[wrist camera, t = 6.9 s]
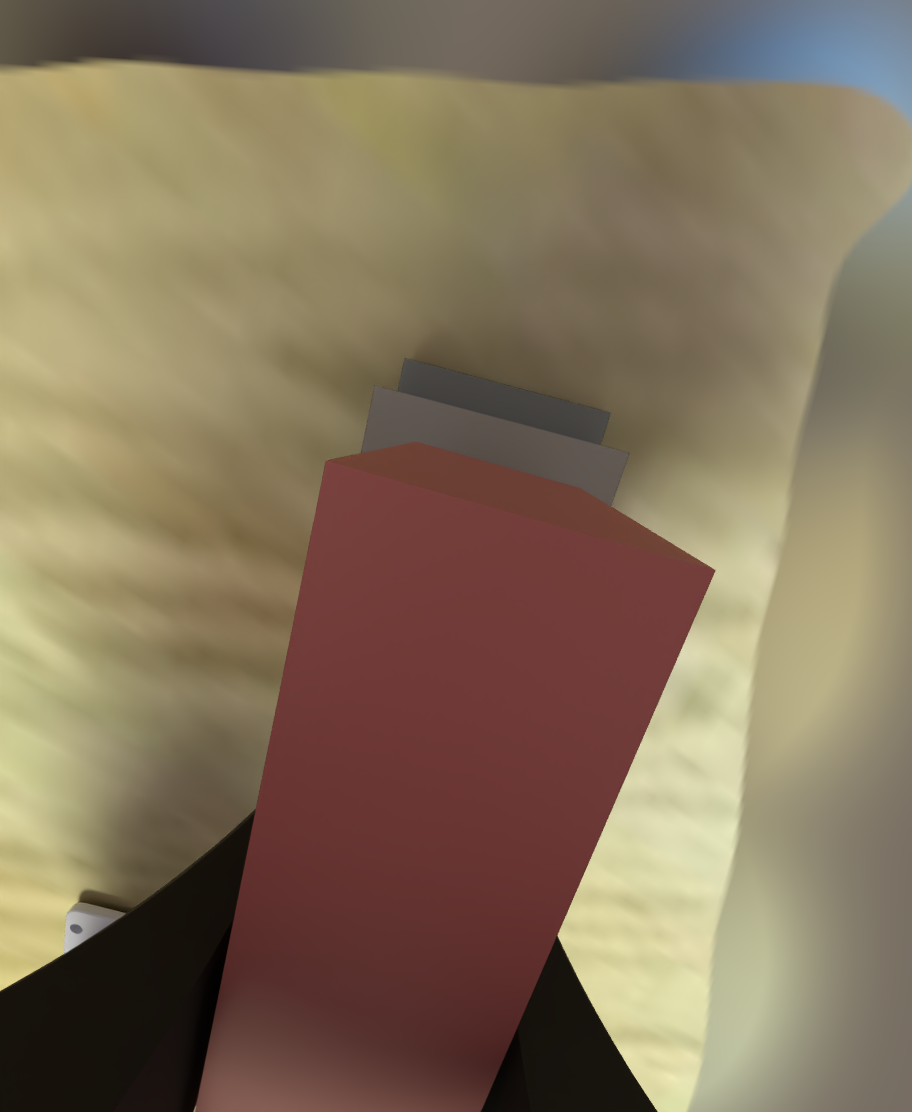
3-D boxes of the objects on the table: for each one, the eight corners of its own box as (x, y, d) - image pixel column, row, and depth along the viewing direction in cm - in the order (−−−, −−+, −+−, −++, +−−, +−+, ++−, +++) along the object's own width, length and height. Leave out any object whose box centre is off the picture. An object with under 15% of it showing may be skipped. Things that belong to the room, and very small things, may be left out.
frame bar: (397, 1023, 14) (339, 1435, 8) (280, 993, 14) (139, 1388, 8) (580, 488, 10) (714, 569, 4) (416, 441, 10) (326, 461, 4)
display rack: (442, 910, 20) (433, 1026, 16) (299, 874, 20) (255, 981, 16) (602, 413, 15) (644, 408, 11) (409, 362, 15) (383, 338, 11)
